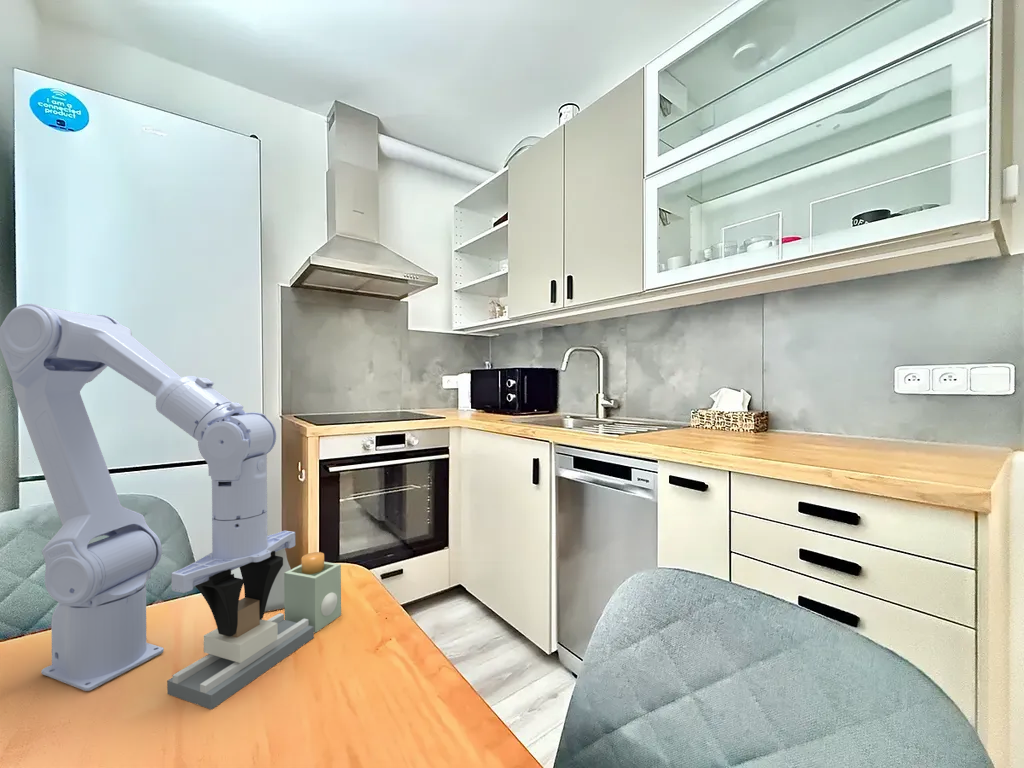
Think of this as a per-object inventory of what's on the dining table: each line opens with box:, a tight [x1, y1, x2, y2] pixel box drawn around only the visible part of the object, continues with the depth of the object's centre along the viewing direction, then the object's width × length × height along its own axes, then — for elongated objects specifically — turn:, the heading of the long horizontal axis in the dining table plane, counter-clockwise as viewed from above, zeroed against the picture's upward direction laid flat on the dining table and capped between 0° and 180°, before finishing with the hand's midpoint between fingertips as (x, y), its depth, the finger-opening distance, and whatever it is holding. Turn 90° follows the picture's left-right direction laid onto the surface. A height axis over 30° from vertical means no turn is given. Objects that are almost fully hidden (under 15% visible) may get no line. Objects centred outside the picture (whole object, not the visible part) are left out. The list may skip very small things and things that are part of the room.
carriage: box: [203, 596, 278, 663], centre depth 54 cm, size 6×5×5 cm
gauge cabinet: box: [284, 561, 342, 634], centre depth 64 cm, size 6×5×8 cm
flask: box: [264, 548, 291, 613], centre depth 70 cm, size 7×7×10 cm
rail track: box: [166, 612, 315, 710], centre depth 54 cm, size 7×14×2 cm, turn 160°
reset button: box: [301, 551, 325, 574], centre depth 64 cm, size 3×3×2 cm
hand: (241, 625), depth 54 cm, fingers closed on carriage, 3 cm apart
